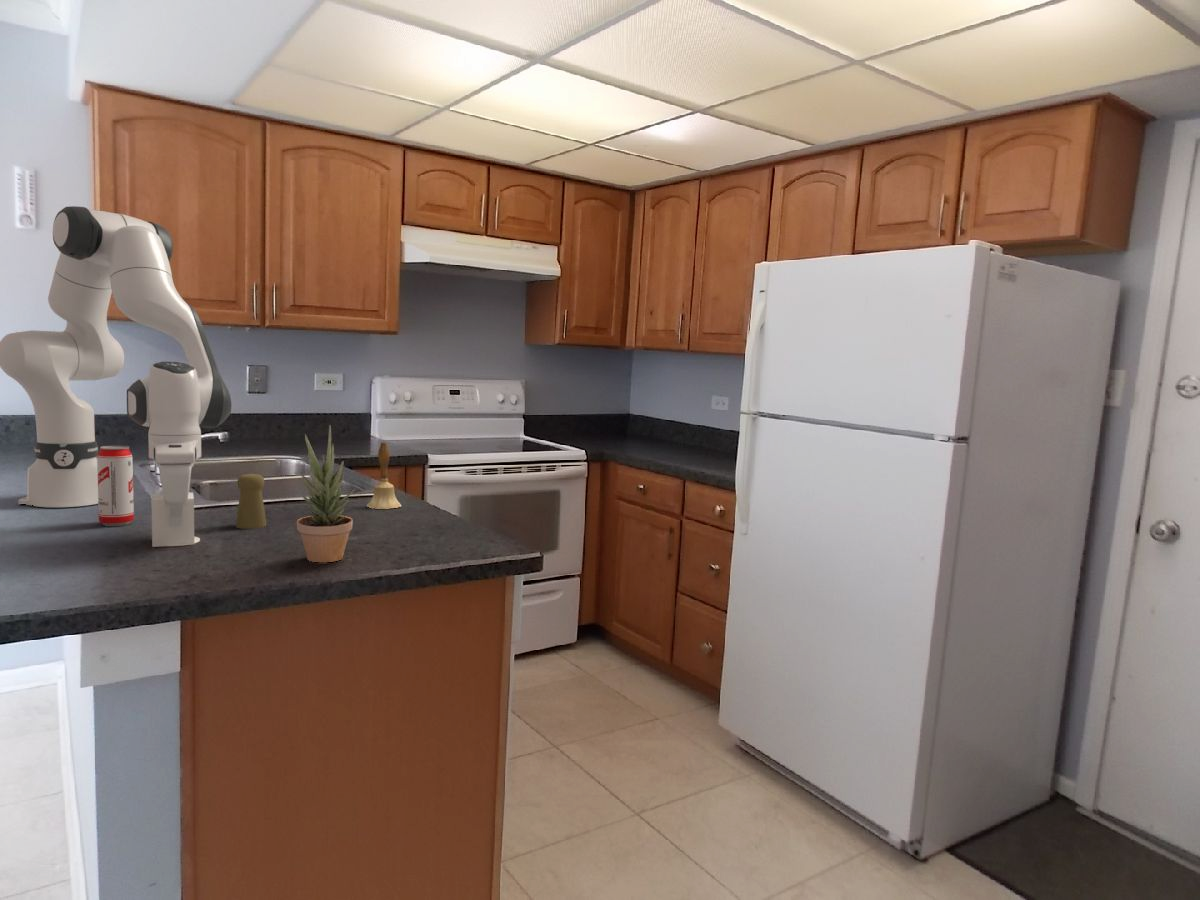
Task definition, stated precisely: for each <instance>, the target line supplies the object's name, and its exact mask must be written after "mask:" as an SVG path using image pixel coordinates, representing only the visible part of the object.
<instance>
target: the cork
mask: <svg viewBox="0 0 1200 900" xmlns="http://www.w3.org/2000/svg"><path fill="white" fill-rule="evenodd" d="M237 487H238V489H239V490H240V492H239V493H240V494H239V499H238V507H237V515H236V523H235V527H236V528H237V529H244V530H245V529H247V530H249V529H250V530H252V529H253V530H254V529H261V527H262V528H265V527H266V525H267V519H266V512H265V505H264V498H263V492H262V490H263V488H264V487H265V478H264V477H263V476H262V475H261V474H259V473H258V474H257V473H247V474H246V473H245V474H242V475H239V476H238V479H237ZM264 526H265V527H264Z"/></svg>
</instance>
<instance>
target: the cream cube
mask: <svg viewBox="0 0 1200 900" xmlns="http://www.w3.org/2000/svg"><path fill="white" fill-rule="evenodd" d="M182 506H183V509H182V525H181V526H172V525H171V515H170V506H168V505H166V504H165V502H164V497H163V493H152V495H151V541H152V542H151V543H152V544H151V545H152V548H155V547H156V548H157V547H158V548H159V547H165V546H164V545H176V544H189V545H188V546H190V545H191V546H192V545H195V543H194V537H195V496H194V492H192V491H191V492H189V495H188V501H187V504H185V505H182Z"/></svg>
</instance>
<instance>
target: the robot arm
mask: <svg viewBox="0 0 1200 900" xmlns="http://www.w3.org/2000/svg"><path fill="white" fill-rule="evenodd" d="M52 240H53V244H54V246H55V247H56V248H57V250H58V251H59V256H58V260H57V261H56V265H55V269H54V273H53V276H52V277H53V278H52V282H51V285H50V289H49V291H48V292H49V293H48V296H47V301H48V304H49V307H50V309H51V310H52V312H53V313H54V314H56V315H57V316H58V317H60V318H61V319H63V320H64V321H65V322H66V327H65V329H64V330H63V331H56V330H55V331H54V330H52V331H51V330H49V331H48V330H32V329H31V330H25V331H24V330H23V331H18V332H17V331H15V332H11V333H8V334H6V335H4V336H3V337H2V338H1V340H0V369H1V370H2V372H4V373H5V374H6V375H7V376H8V377H10V378H12V379H13V380H14V381H15V382H16V383H18V384H19V385H20V386H21V387H22V388H23V389H24V391H25V392H26V393H27V395H28V397H29V399H30V401H31V403H32V407H33V411H34V417H35V418H34V419H35V425H36V441H35V442H34V449H33V450H34V457H35V459H36V460H35V461H34V462H33V463H31V465H30V466H28V467H27V476H26V479H27V480H26V481H27V482H26V483H27V484H26V485H27V487H26V493H27V495H26V496H24V497H22V498H20V499H19V498H18V501H17V504H18V505H20V504H26V505H25V506H32V505H33V506H32V507H39V508H74V507H84V506H85V507H86V506H91V505H98V471H97V455H98V453H99V452H98V451H99V446H98V442H97V440H96V436H95V434H96V431H95V429H96V428H95V411H94V408H93V406H91V404H90V403H89V402H87V401H85V400H84V399H82V398H80V397H78V396H76V395H75V393H73V391H72V389H71V387H70V381H98V380H103V379H107V378H112V377H116V376H118V374H119V373H120V372H121V370H122V369H123V367H124V363H125V353H124V349H123V347H122V345H121V344H120V343H119V341H118V340H117V339H116V338H114V337H113V335H112V334H111V332H110V329H109V326H108V311H109V306H110V301H111V296H112V298H113V300H114V303H115V305H116V307H117V309H118V310H119V311H120V312H121V313H123V315H124V316H126V317H127V318H129V319H130V320H132V321H133V322H135V323H138V324H140V325H142V326H145V327H148V328H151V329H154V330H157V331H159V332H161V333H163V334H166V335H168V337H169V336H170V337H172V339H175V340H176V341H177V342H178V343H179V345H181V346H182V348H183V350H184V353H185V356H186V359H187V362H188V364H187V363H185V362H178V361H160V362H159V361H158V362H155V363H153V364H151V365H150V367H149V374H148V375H147V376H145V377H144V378H142V379H141V378H140V379H137V380H136V381H135V382H133V383H132V384H131V385H130V386H129V387H128V388H127V389H126V415H127V416H128V417H129V419H131V420H132V421H133V422H134V423H136V424H137V425H139V426H143V427H146V428H147V427H148V434H147V435H148V439H147V440H148V458H149V459H150V460H153V461H154V462H155V464H156V467H157V468H158V471H159V476H160V482H161V491H162V494H163V497H164V502H165V504H166V505H168V506H170V515H171V525H172V526H181V525H182V509H183V506H182V505H185V504H187V501H188V495H189V493H190V486H191V485H190V483H191V475H192V468H193V467H194V466H195V462H196V460H198V459H200V458H202V430H201V428H205V429H215V428H217V427H219V426H220V425H221V424H223V423H224V422H225V421H226V420H227V418H229V417H230V415H231V412H232V399H231V394H230V392H229V389H228V387H227V385H226V383H225V381H224V380H223V378H222V375H221V373H220V370H219V368H218V366H217V365H218V364H217V362H216V359H215V357H214V354H213V351H212V349H211V346H210V343H209V340H208V337H207V334H206V331H205V330H204V327H203V326H204V325H203V323H202V321H201V318H200V316H199V314H198V312H197V311H196V309H195V308H194V307H193V306H192V305H191V304H189V303H187V302H186V301H185V300H184V299H183V297H182V296H181V295H180V294H179V292H178V290H177V288H176V286H175V284H174V279H173V275H172V274H173V273H172V269H171V264H170V262H171V259H172V256H173V251H174V244H173V243H174V242H173V239H172V236H171V234H170V233H169V231H168V229H166V228H165V227H163V226H161V225H159V224H157V223H155V222H153V221H145V220H143V219H140V218H137V217H135V216H131V215H127V214H123V213H118V212H116V213H115V212H109V211H104V210H96V209H88V208H87V207H85V206H78V205H77V206H76V205H75V206H71V205H70V206H65V207H63V208H62V209H61V210H59V211H58V212H57V213H56V215H55V218H54V221H53V225H52Z"/></svg>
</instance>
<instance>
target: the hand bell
mask: <svg viewBox="0 0 1200 900" xmlns="http://www.w3.org/2000/svg"><path fill="white" fill-rule="evenodd" d="M387 443H388V442H387V441H381V442H380V446H379V450H378V452H377V454H378V455H377V456H378V457H377V458H378V463H379V467H380V481H379V483H377V484H375V486H374V491H373V495H372V497H371V499H370V501H369V502H367V504H366V506H367V507H369V508H375V509H390V508H398V507H402V504H401V502H400V501H398V499H397V496H396V494H395V487H394V485H393V484H392V483H391V482H389V478H388V466H389V462H390V449H389V446H388V444H387ZM367 507H366V508H367ZM369 508H368V509H369ZM398 509H399V508H398Z"/></svg>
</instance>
